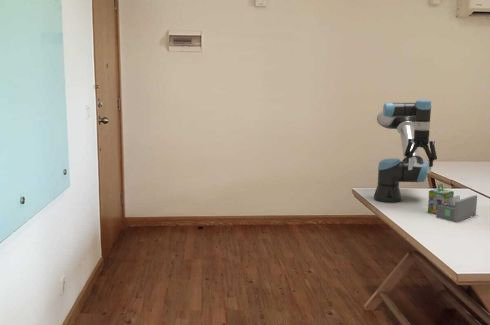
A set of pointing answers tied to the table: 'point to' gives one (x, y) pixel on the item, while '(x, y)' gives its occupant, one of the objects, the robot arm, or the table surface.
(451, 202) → the paddle
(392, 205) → the table surface
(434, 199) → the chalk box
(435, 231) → the table surface
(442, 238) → the table surface
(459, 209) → the stand
